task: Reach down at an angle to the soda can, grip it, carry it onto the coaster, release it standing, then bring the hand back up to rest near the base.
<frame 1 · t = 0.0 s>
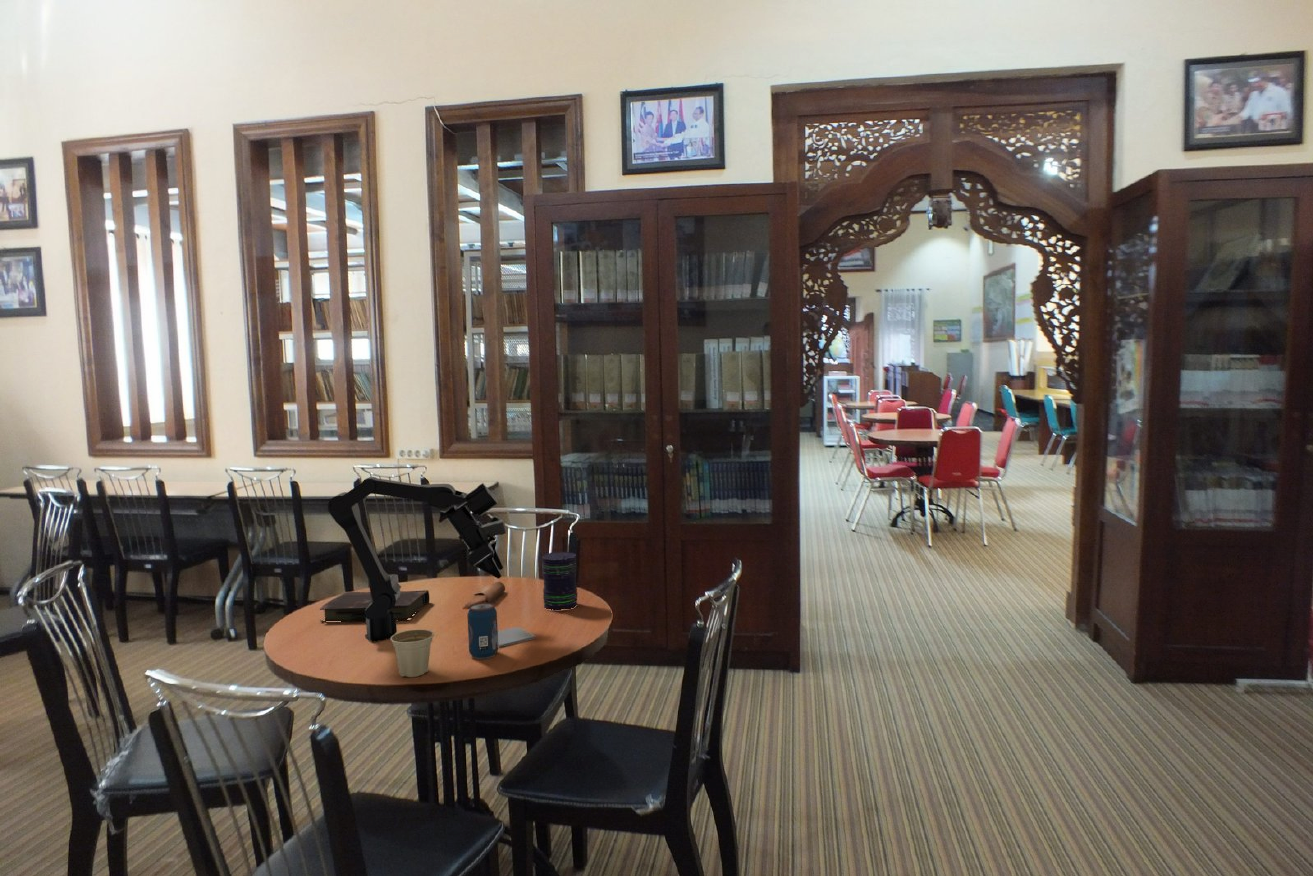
hand: (501, 573, 202), 15 cm above the table, tool tilted 35°, fingers open, 9 cm apart
soda can: (484, 655, 184), on the table
diary: (376, 615, 221), on the table
storage jar: (560, 607, 222), on the table
flower pot: (414, 673, 174), on the table
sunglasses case: (484, 602, 230), on the table
coaster: (508, 637, 195), on the table
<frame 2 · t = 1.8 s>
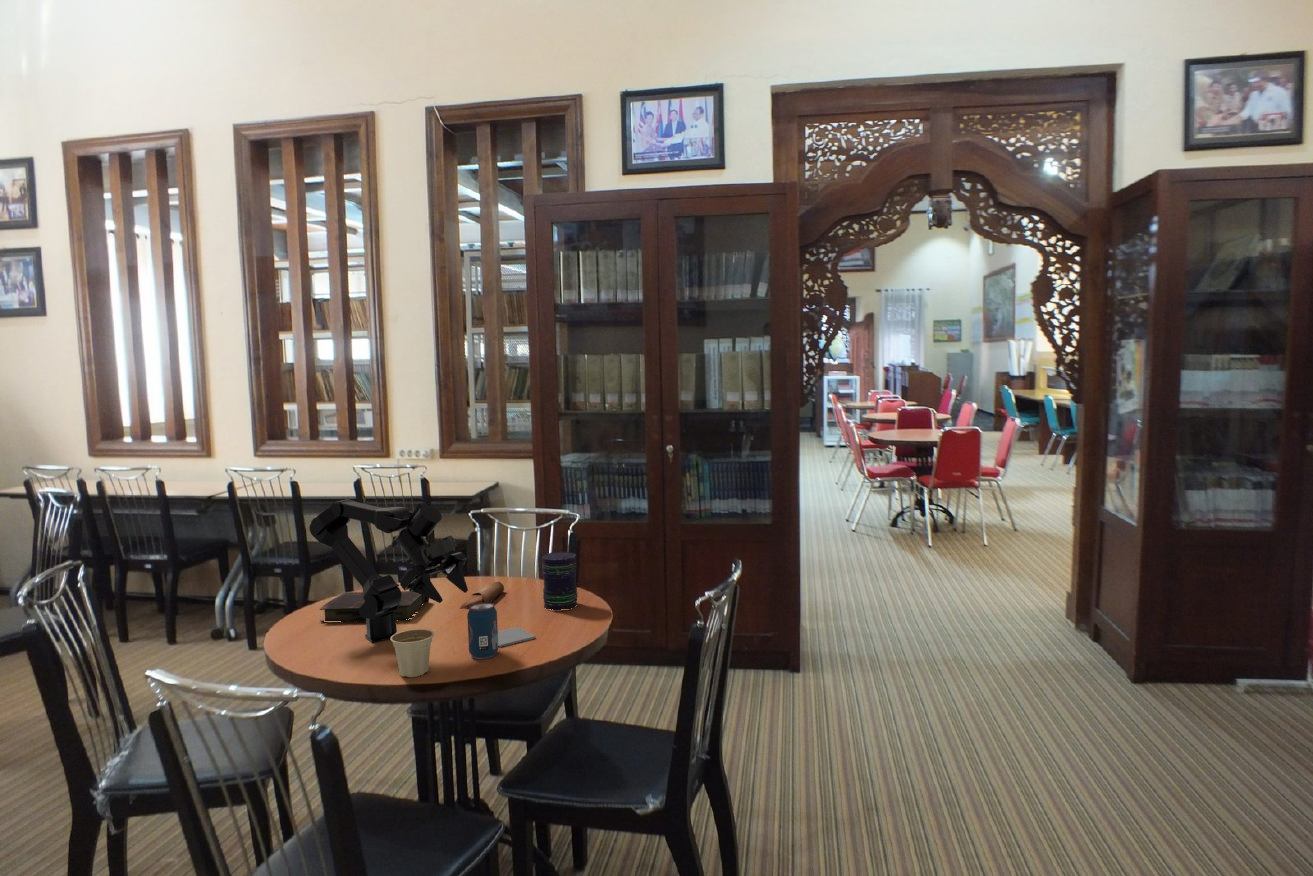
hand: (454, 596, 186), 13 cm above the table, tool tilted 45°, fingers open, 9 cm apart
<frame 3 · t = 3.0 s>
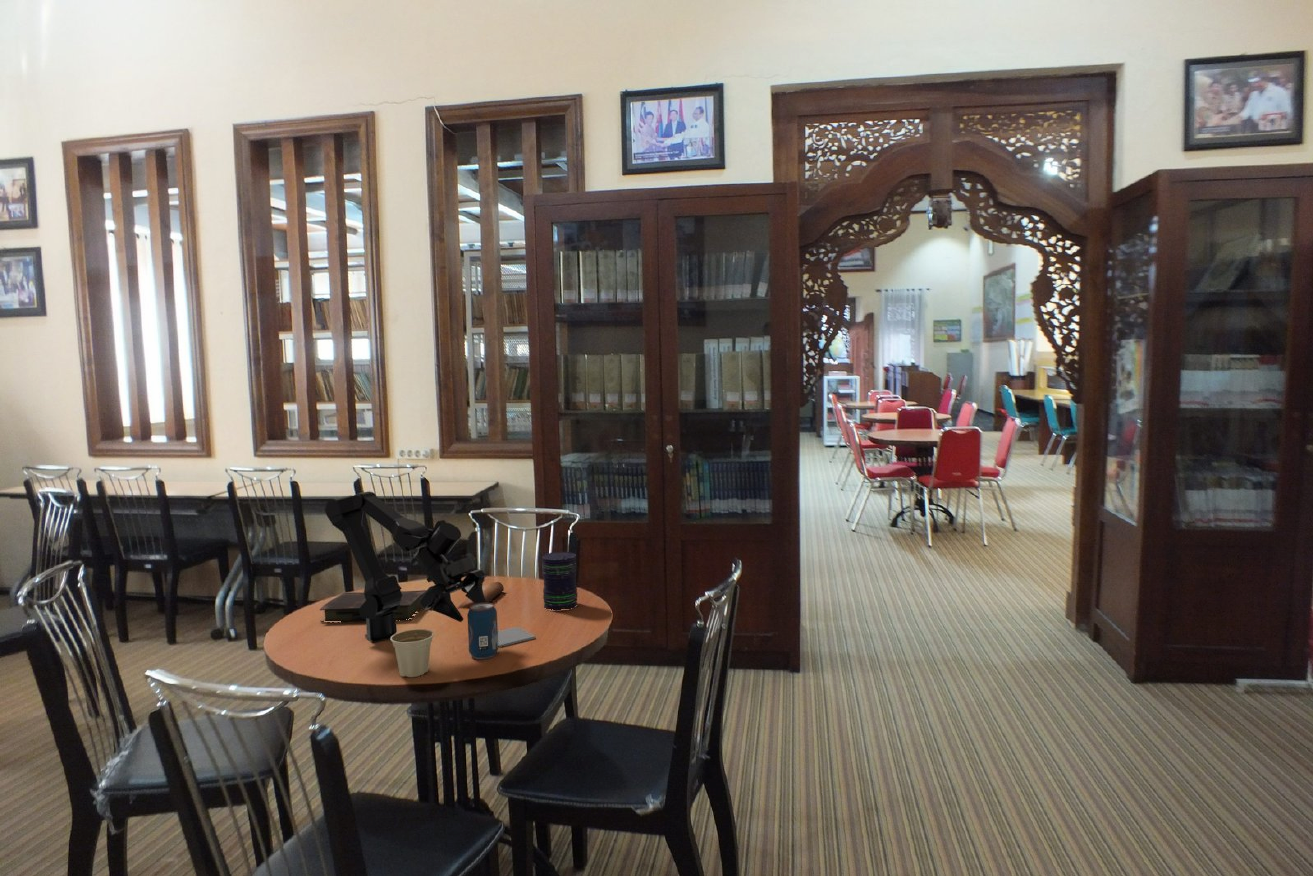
hand: (474, 615, 184), 9 cm above the table, tool tilted 45°, fingers open, 9 cm apart
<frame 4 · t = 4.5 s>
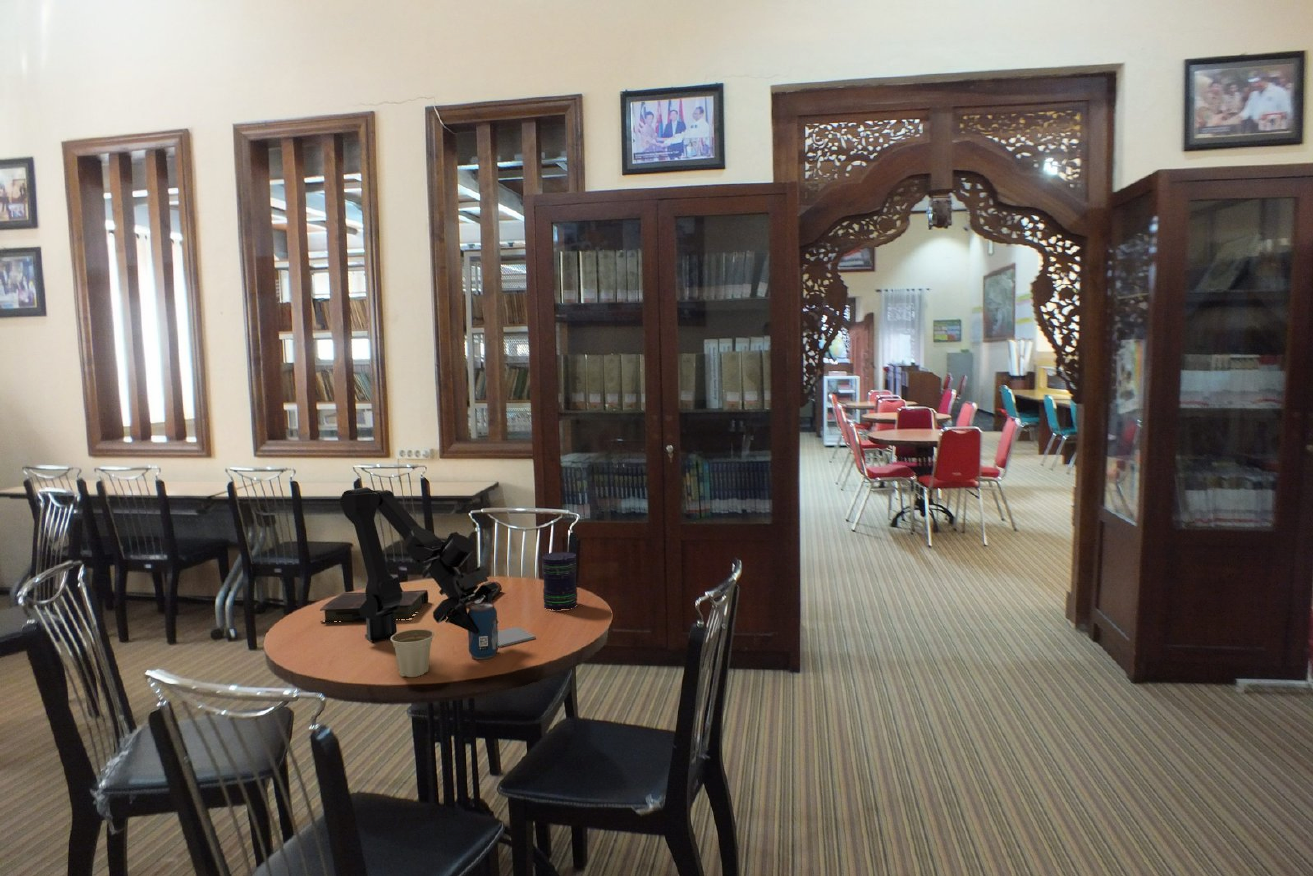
hand: (487, 628, 183), 7 cm above the table, tool tilted 45°, fingers closed on soda can, 7 cm apart
soda can: (484, 655, 184), on the table, touching gripper
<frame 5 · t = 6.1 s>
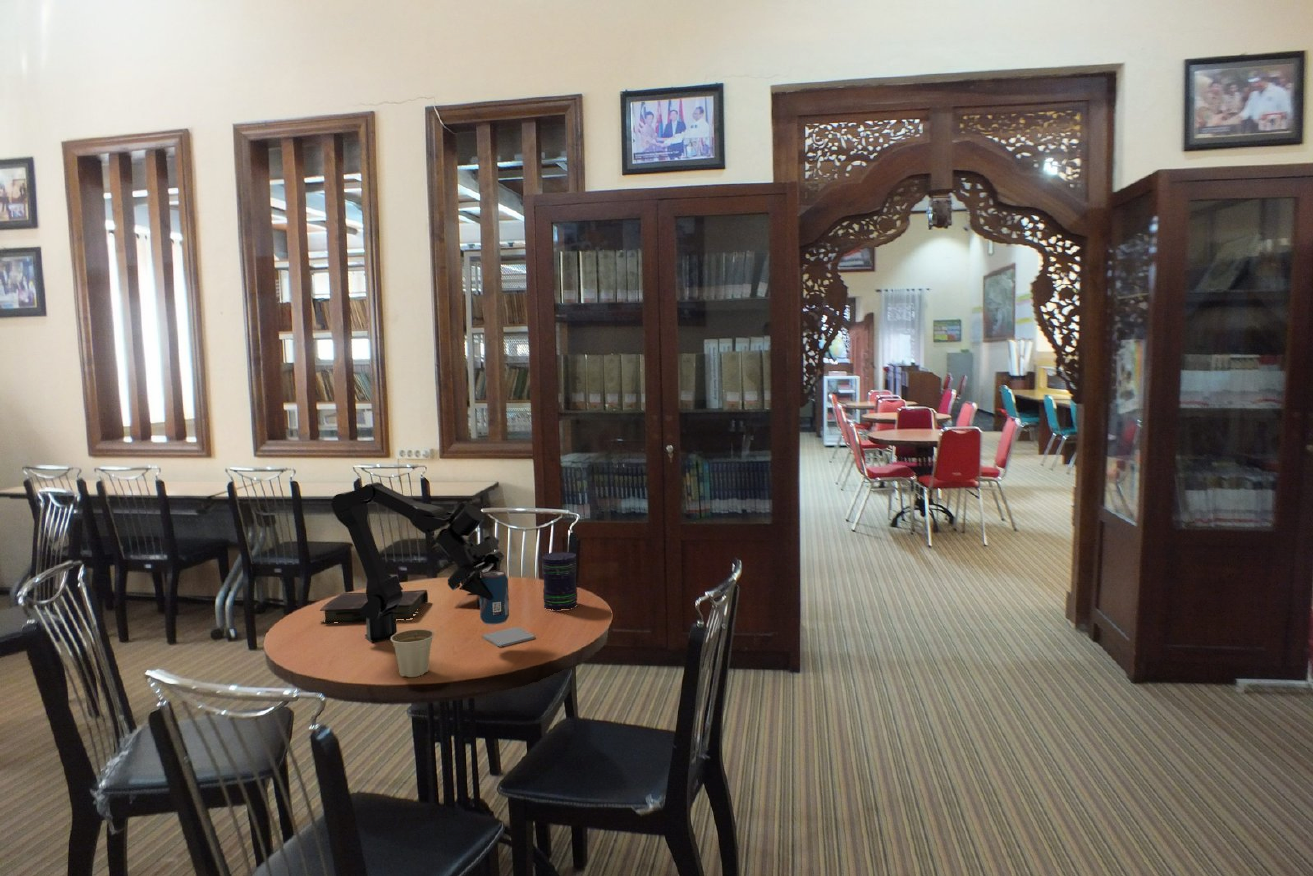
hand: (499, 595, 187), 13 cm above the table, tool tilted 45°, fingers closed on soda can, 7 cm apart
soda can: (494, 621, 188), point 6 cm above the table, touching gripper
when the fingers open (8 cm above the table, at t = 7.9 s): soda can stays where it is, resting on coaster.
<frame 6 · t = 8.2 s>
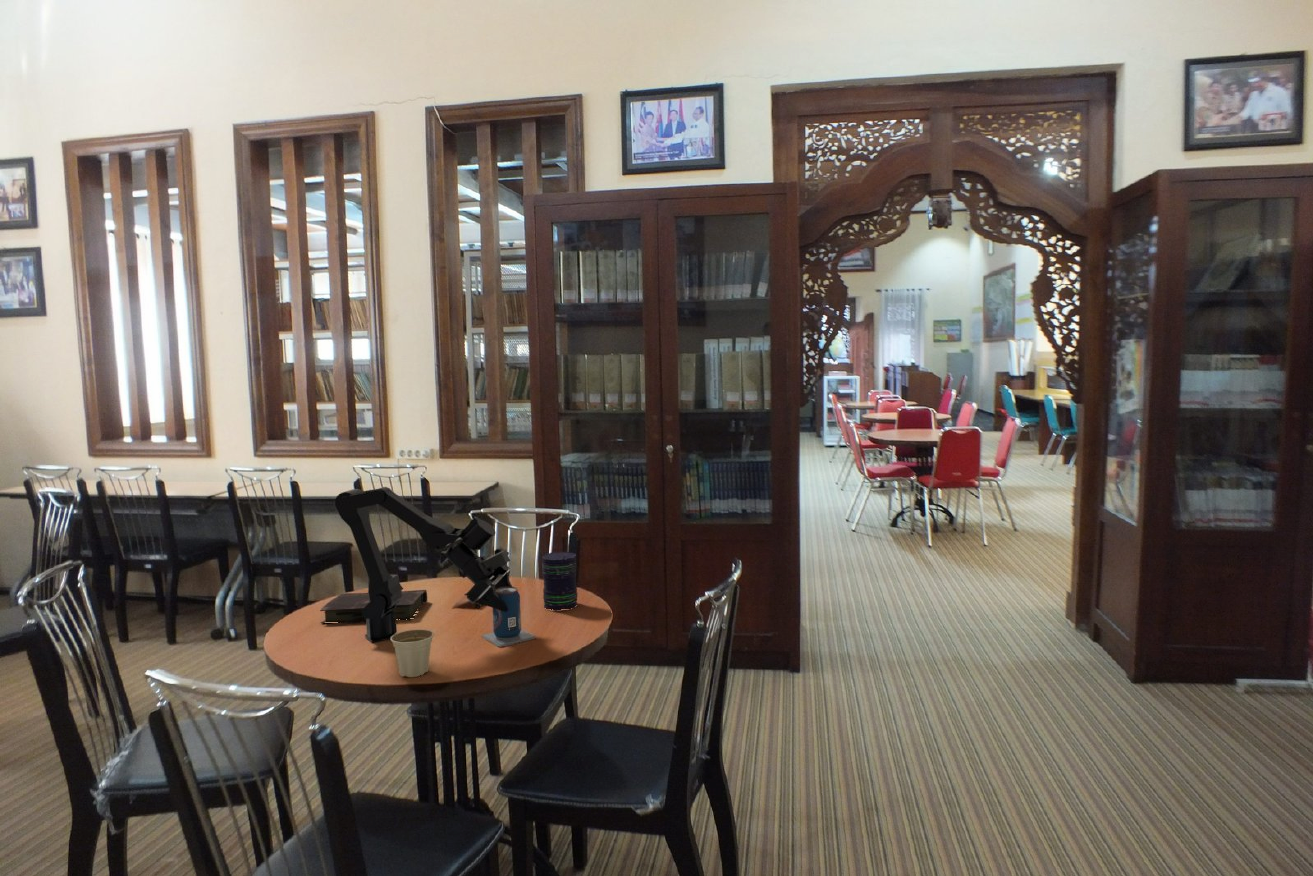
hand: (512, 605, 195), 9 cm above the table, tool tilted 45°, fingers open, 9 cm apart
soda can: (507, 636, 195), resting on coaster
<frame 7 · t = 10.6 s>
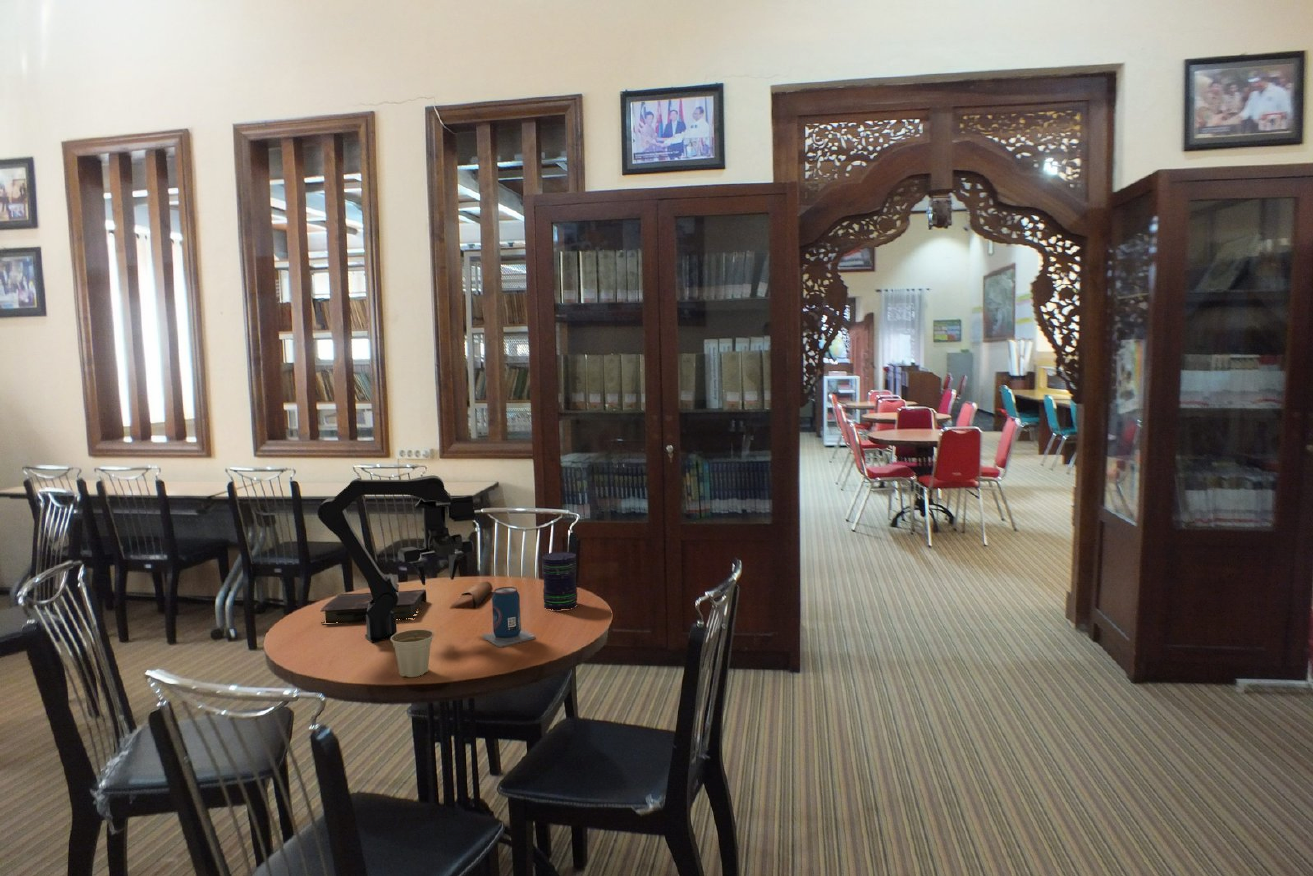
hand: (438, 582, 202), 13 cm above the table, tool pointing down, fingers open, 7 cm apart
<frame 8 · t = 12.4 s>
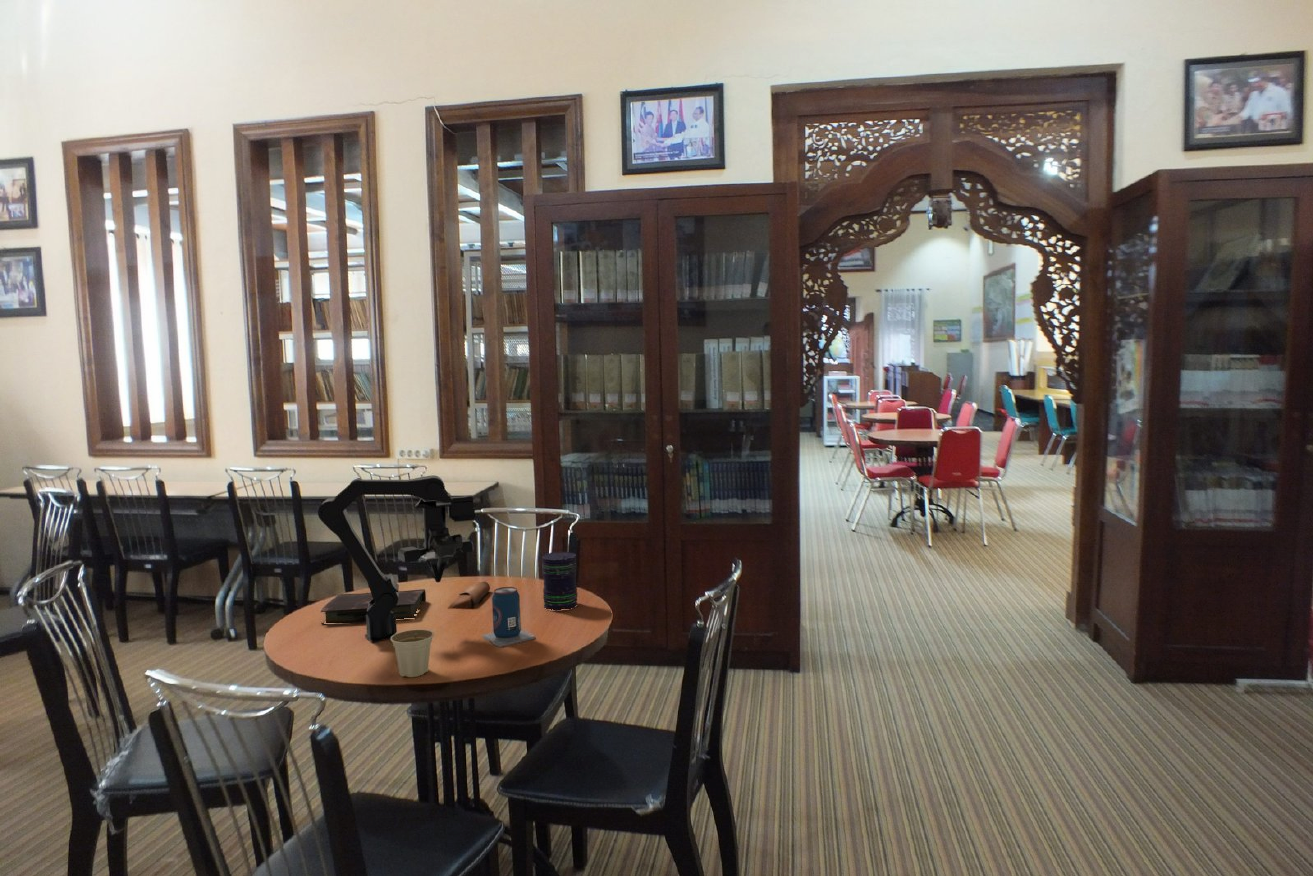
hand: (438, 582, 202), 13 cm above the table, tool pointing down, fingers closed
at the end: soda can inside the target area on the coaster (0.3 cm from its centre), point 0.4 cm above the coaster's base; soda can tilted 0°; the gripper is holding nothing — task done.
